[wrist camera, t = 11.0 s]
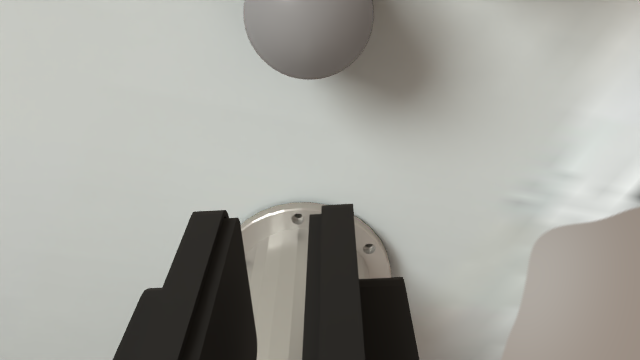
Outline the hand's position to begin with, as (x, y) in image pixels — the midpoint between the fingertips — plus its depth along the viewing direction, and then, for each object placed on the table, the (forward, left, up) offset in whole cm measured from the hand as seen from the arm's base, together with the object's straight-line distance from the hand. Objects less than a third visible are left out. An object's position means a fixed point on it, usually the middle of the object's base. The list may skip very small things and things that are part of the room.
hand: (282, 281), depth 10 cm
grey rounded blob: (0, 0, -27) cm, 27 cm away
